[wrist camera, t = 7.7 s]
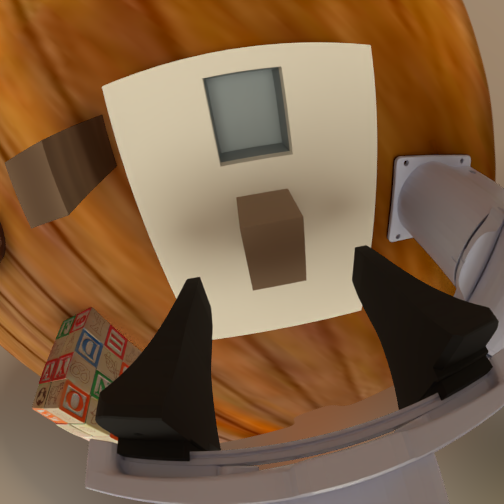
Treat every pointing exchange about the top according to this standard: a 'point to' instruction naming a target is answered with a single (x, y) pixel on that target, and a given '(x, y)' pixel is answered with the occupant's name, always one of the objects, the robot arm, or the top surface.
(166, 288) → the top surface
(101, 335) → the stack of blocks
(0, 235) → the food container
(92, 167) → the walnut key
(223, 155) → the shallow tray
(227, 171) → the lid
